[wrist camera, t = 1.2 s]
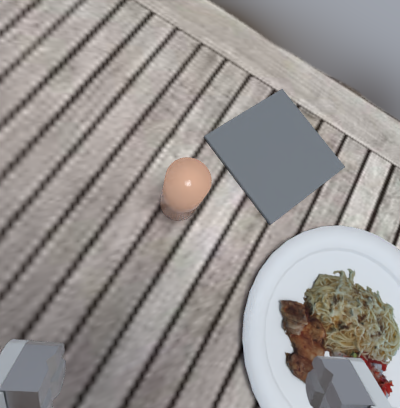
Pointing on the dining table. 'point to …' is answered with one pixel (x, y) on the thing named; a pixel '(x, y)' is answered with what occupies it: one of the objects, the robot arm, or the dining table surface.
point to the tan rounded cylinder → (184, 188)
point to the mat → (274, 155)
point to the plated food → (323, 313)
